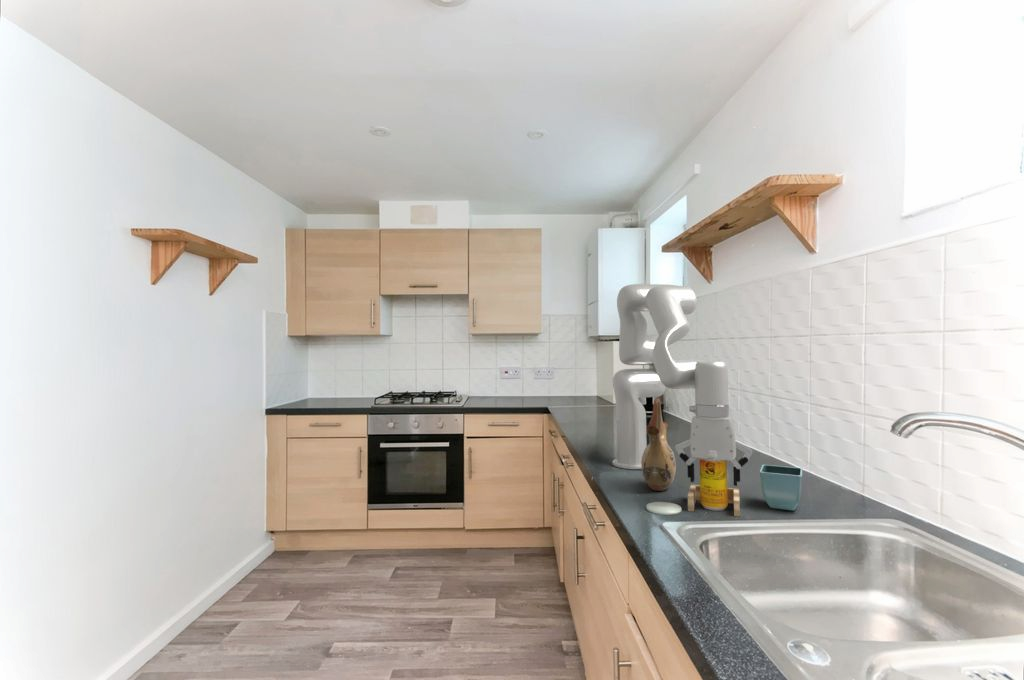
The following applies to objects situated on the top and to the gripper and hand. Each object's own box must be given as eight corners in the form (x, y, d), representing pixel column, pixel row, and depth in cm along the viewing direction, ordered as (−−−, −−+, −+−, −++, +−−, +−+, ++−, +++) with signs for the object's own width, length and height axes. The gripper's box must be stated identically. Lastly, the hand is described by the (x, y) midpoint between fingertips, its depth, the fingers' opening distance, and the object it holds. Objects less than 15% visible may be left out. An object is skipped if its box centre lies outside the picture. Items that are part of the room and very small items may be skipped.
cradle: (691, 498, 127) (690, 484, 127) (739, 502, 123) (738, 488, 123) (687, 510, 118) (687, 495, 118) (739, 516, 113) (739, 501, 113)
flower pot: (763, 499, 126) (762, 463, 126) (803, 504, 121) (802, 467, 121) (760, 509, 118) (759, 471, 118) (803, 515, 113) (802, 476, 114)
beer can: (699, 509, 119) (697, 446, 119) (702, 502, 124) (701, 441, 124) (726, 512, 116) (725, 448, 116) (728, 505, 121) (727, 443, 122)
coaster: (649, 502, 124) (649, 500, 124) (682, 506, 121) (682, 503, 121) (644, 512, 117) (644, 510, 117) (679, 516, 114) (679, 514, 114)
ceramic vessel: (671, 499, 127) (669, 401, 127) (636, 495, 131) (634, 400, 131) (680, 482, 142) (678, 395, 142) (647, 479, 146) (646, 394, 146)
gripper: (673, 412, 120) (674, 483, 120) (752, 415, 113) (754, 490, 113) (676, 408, 127) (677, 475, 127) (750, 411, 120) (752, 482, 120)
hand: (713, 482), depth 120 cm, fingers open, 9 cm apart
